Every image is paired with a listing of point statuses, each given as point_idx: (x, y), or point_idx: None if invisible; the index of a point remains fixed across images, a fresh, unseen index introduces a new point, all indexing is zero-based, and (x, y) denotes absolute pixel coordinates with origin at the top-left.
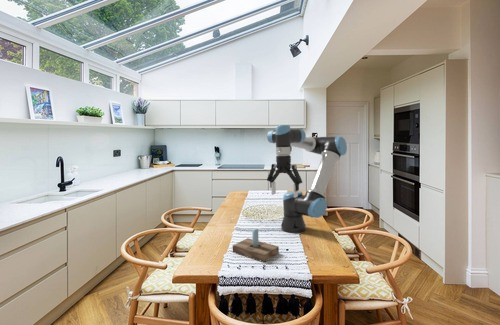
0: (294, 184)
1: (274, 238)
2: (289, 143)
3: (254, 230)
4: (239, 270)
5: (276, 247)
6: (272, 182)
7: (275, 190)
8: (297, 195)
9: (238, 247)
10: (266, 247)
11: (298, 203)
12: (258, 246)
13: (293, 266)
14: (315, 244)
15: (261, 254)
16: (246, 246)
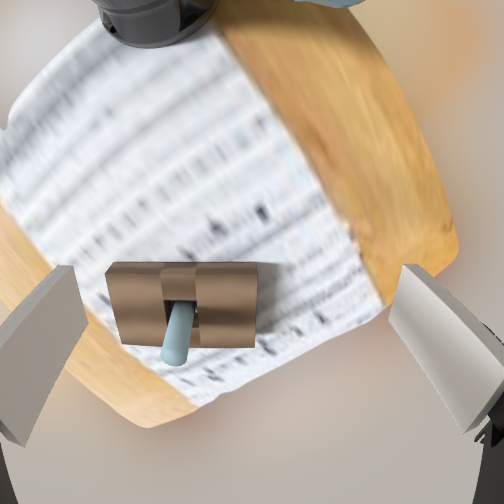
0: (476, 440)
1: (148, 143)
2: None
3: (180, 364)
4: (225, 383)
5: (255, 285)
6: (4, 432)
7: (51, 291)
8: (423, 274)
9: (147, 345)
10: (223, 304)
11: None
12: (192, 310)
13: (336, 304)
14: (335, 107)
15: (243, 347)
16: (161, 331)
